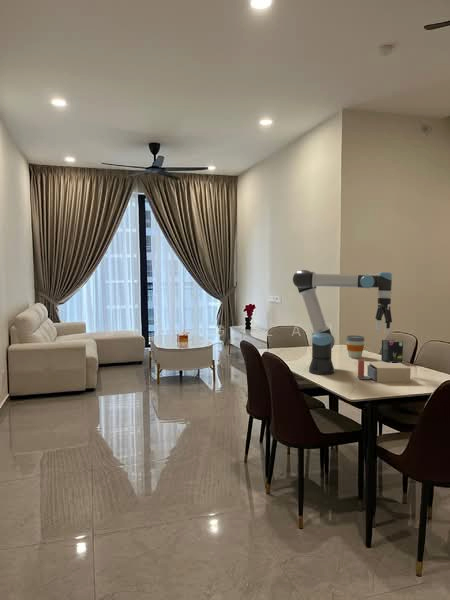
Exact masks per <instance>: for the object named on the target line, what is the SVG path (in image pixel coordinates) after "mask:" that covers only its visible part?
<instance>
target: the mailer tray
mask: <svg viewBox="0 0 450 600" xmlns="http://www.w3.org/2000/svg"><path fill="white" fill-rule="evenodd" d="M357 363H358V364H357V378H358V379H371V380H373V381H375V380H377V368H376V367H374V366H373V365H370V364H367V372H366V373H367V375H365V360H364V359H358V360H357Z"/></svg>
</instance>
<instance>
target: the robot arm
mask: <svg viewBox="0 0 450 600" xmlns="http://www.w3.org/2000/svg"><path fill="white" fill-rule="evenodd" d="M392 277H393V275H392V273H391V272H385V271H384V272H383V271H381V272H378V275H372V274H371V275H370V274H342V273H341V274H340V273H339V274H338V273H337V274H336V273H316V272H315V271H310V270H308V269H299V270H298V271H296V272H295V273H294V274H293V276H292V283H293V285H294V286H295V288H297V290H298V294H300V295H301V296H302V299H303V301H304V304H305V308H306V310H307V313H308V314H307V315H308V318H309V320H310V324H311V326H312V333H311V335H312V336H311V342H312V343H311V361H310V363H309V366H308V367H309V368H308V371H309V373H311V374H314V375H332V374H334V373H335V368H334V364H333V362H332V361H333V360H332V352H333V351H332V349H333V348H334V345H335V337H334V336H333V335H332V332H331V328H329V327H328V326H327V324H326V320H325V318H324V314H323V312H322V308H321V305H320V302H319V298H318V296H317V292H316V290H317V287H330V288H331V287H332V288H337V287H338V288H356V289H357V288H360V289H362V288H363V289H370V288H374V289H375V288H376V289H378V290H377V297H378V298H377V310H376V314H375V319H376V331H377V332H378V331H379V332H381V331H382V319H383V317H384V320H385V321H384V334H385V335H386V334H387V335H389V334H390V332H391V324H392V322H393V320H392V319H393V317H392V312H391V306H390V305H391V303H392V299H391V297H392V293H393V292H392V283H393V278H392Z"/></svg>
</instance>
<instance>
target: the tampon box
mask: <svg viewBox="0 0 450 600" xmlns="http://www.w3.org/2000/svg"><path fill="white" fill-rule="evenodd" d="M403 351H404V341H402V340H398V339H381V357H380V359H381V361H382V362H384V363H388V362H389V363H391V362H398V363H403V355H404V354H403V353H404V352H403Z"/></svg>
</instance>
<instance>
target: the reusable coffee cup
mask: <svg viewBox="0 0 450 600" xmlns="http://www.w3.org/2000/svg"><path fill="white" fill-rule="evenodd" d="M364 342H365V336H363V335H347V336H346V349H347V353H348V354H347V355H348V358H350V357H351V358H350V359H361V358H362V356H363V352H364V346H365V343H364ZM360 357H361V358H360Z"/></svg>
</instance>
